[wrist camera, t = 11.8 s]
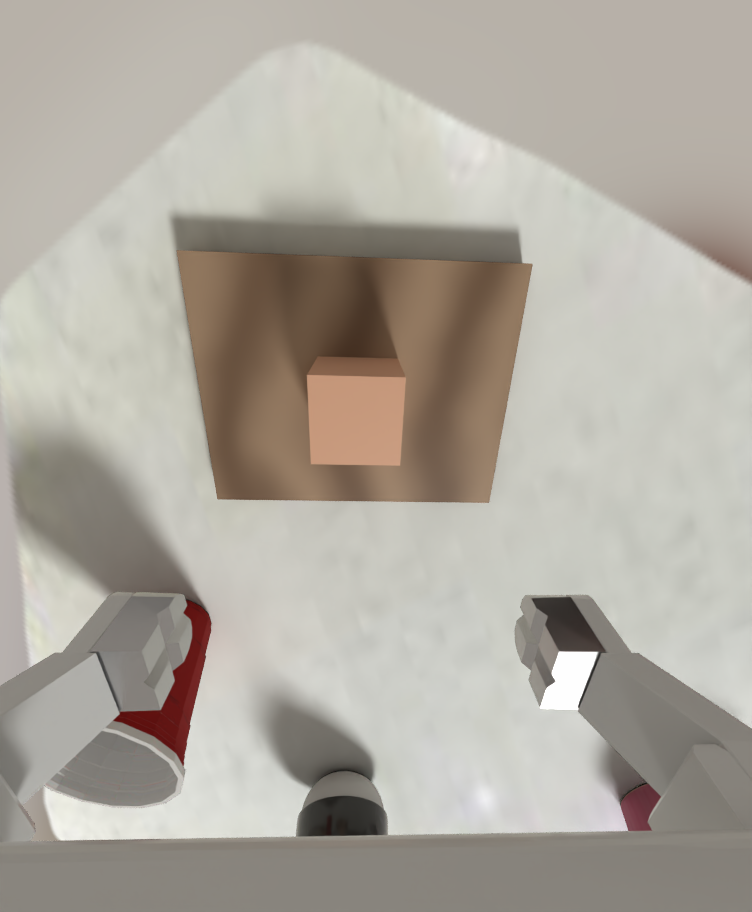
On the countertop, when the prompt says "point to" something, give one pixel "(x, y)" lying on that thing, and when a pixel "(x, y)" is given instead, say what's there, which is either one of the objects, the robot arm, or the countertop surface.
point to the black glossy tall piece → (342, 808)
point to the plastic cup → (141, 742)
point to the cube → (356, 410)
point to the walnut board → (352, 335)
